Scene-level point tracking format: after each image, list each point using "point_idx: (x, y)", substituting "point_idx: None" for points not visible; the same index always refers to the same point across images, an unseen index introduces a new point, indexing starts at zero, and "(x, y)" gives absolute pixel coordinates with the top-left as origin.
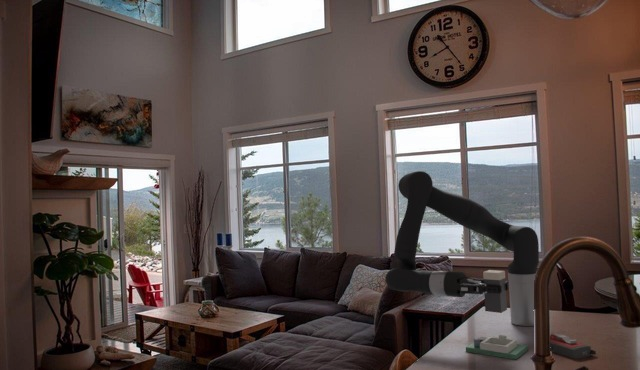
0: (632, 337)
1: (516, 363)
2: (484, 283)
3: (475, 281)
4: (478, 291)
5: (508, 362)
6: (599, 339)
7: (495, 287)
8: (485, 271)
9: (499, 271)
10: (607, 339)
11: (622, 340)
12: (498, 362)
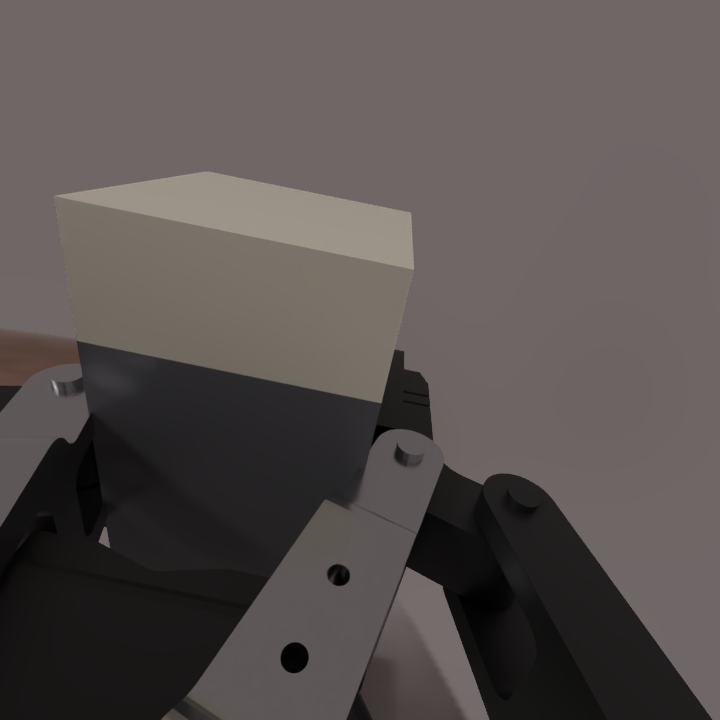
0: (3, 331)
1: (398, 620)
2: (367, 458)
3: (390, 588)
4: (514, 600)
5: (402, 658)
6: (8, 383)
7: (425, 390)
8: (316, 246)
9: (271, 191)
10: (14, 370)
11: (36, 349)
12: (428, 712)
